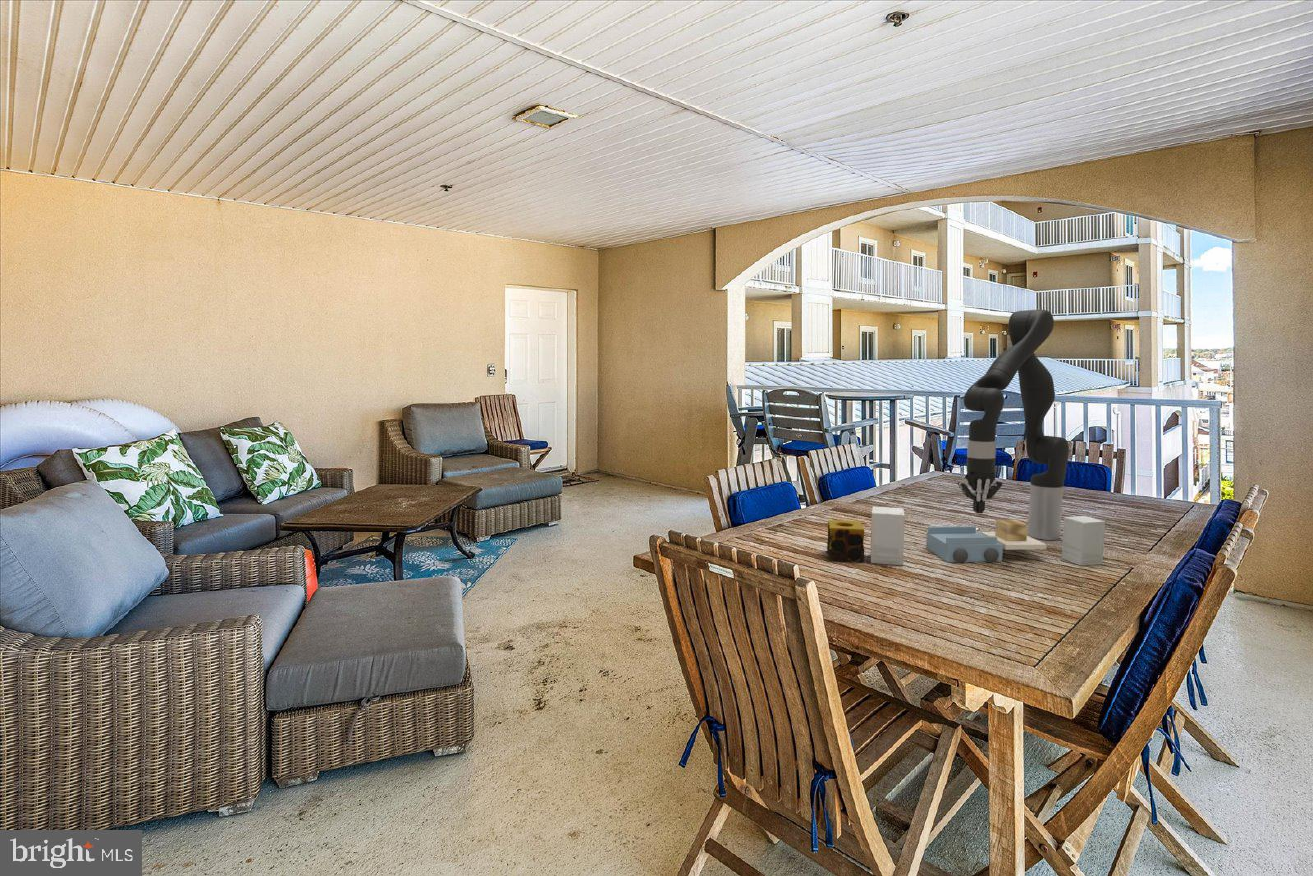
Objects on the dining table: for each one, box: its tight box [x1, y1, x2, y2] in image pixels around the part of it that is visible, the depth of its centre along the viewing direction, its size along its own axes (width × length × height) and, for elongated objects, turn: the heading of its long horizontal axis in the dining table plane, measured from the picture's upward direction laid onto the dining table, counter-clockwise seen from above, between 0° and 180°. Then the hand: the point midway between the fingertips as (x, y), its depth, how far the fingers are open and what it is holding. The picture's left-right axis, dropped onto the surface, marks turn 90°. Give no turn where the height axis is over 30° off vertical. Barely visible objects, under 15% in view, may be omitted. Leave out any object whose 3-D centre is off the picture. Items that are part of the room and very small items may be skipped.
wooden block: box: [994, 518, 1028, 541], centre depth 196 cm, size 6×6×5 cm
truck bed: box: [925, 525, 1004, 564], centre depth 196 cm, size 16×16×7 cm
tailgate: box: [980, 531, 1048, 551], centre depth 197 cm, size 1×14×12 cm
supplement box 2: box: [1061, 515, 1106, 567], centre depth 189 cm, size 7×7×13 cm
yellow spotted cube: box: [826, 519, 865, 563], centre depth 194 cm, size 10×10×10 cm
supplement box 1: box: [870, 506, 906, 566], centre depth 191 cm, size 9×9×15 cm
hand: (978, 512), depth 195 cm, fingers closed
